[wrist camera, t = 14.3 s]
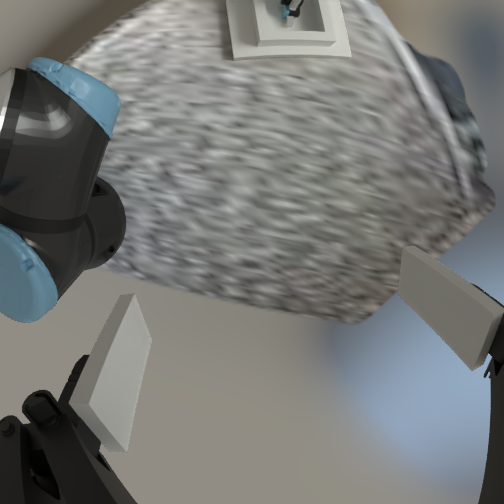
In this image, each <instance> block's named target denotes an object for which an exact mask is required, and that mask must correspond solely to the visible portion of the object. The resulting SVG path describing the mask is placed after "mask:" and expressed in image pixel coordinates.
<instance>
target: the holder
mask: <svg viewBox="0 0 504 504" xmlns="http://www.w3.org/2000/svg"><path fill="white" fill-rule="evenodd" d="M279 1H280V0H225V2H226V10H227V17H228V24H229V32H230V39H231V47H232V54H233V61H236V60H247V59H260V58H283V57H315V58H338V59H349V58H351V51H350V46H349V41H348V36H347V31H346V27H345V22H344V18H343V14H342V10H341V6H340V2H339V0H304V2H303V4H302V5H301V7H300V15H299V17H298V18H296V17H295V19H294V20H293V25H292V27H287V21H285V19H283V18H282V6H280V8H279V9H278V3H279ZM289 26H290V25H289Z"/></svg>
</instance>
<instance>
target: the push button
mask: <svg viewBox="0 0 504 504" xmlns="http://www.w3.org/2000/svg"><path fill="white" fill-rule="evenodd" d="M303 2H304V0H280V1H279V3H278V9H279V8H280V6H282V18H283V19H285V21H287V27H292V25H293V20H294V19H295V17H296V18H298V17H299V15H300V7H301V5H302V4H303ZM289 25H290V26H289Z"/></svg>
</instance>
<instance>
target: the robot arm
mask: <svg viewBox="0 0 504 504" xmlns="http://www.w3.org/2000/svg"><path fill="white" fill-rule="evenodd" d="M120 105H121V104H120V100H119V97H118V95H117V94H116V92H115V91H114V90H113V89H111V88H110V87H109V86H107V85H106V84H104V83H103V82H101V81H99V80H98V79H96V78H94V77H92V76H90V75H89V74H86V73H84V72H82V71H80V70H78V69H76V68H73V67H71V66H68V65H62V64H61V63H59V62H56V61H54V60H51V59H48V58H43V57H37V58H34V59H32V60H31V61H30V63H28V64H27V66H26V70H23V69H18V68H13V67H10V68H9V69H7V70H6V71H5V72H3V73H1V74H0V312H1V313H2V314H4V315H5V316H7V317H9V318H10V319H12V320H15V321H18V322H23V323H31V322H33V321H37V320H39V319H40V318H42V317H43V316H44V315H45V314H46V313H47V312H48V311H50V310H51V309H53V307H54V306H55V305H56V304H57V301H58V300H59V299H60V297H61V296H62V295H63V294H64V293H65V292H66V290H67V289H68V288H69V287H70V286H71V285H72V283H73V282H74V281H75V280H76V279H77V278H78V277H79V275H80V274H81V273H82V272H83V271H84V270H88V269H92V268H95V267H98V266H100V265H102V264H104V263H106V262H107V261H108V260H109V259H110V258H111V257H112V256H113V255H114V254H115V253H116V252H117V250H118V249H119V247H120V246H121V244H122V241H123V239H124V235H125V230H126V216H125V211H124V207H123V204H122V202H121V200H120V198H119V196H118V194H117V193H116V191H115V190H114V189H113V188H112V186H111V185H109V184H108V183H107V182H106V181H104V180H103V179H101V178H99V177H97V174H98V171H99V168H100V165H101V162H102V159H103V156H104V153H105V150H106V147H107V145H108V142H109V141H111V139H112V136H113V135H112V131H113V128H114V125H115V122H116V120H117V117H118V114H119V111H120ZM398 296H400V297H401V298H402V299H403V300H404V301H405V302H406V303H407V304H408V305H409V306H410V307H411V308H412V309H413V310H414V311H415V312H416V313H417V314H418V315H419V316H420V317H421V318H422V319H423V320H424V321H425V322H426V323H427V324H428V325H429V326H430V327H431V328H432V329H433V330H434V331H435V332H436V333H437V334H438V335H439V336H440V337H441V338H442V339H443V340H444V341H445V343H446V344H447V345H448V346H449V347H450V348H451V349H452V350H453V351H454V352H455V353H456V354H457V355H458V356H459V358H460V359H461V360H462V361H463V362H464V363H465V364H466V365H467V366H468V367H469V368H470V370H471V371H473V370H475V369H476V368H478V367H480V366H481V365H483V364H484V362H485V359H486V357H487V355H488V353H489V354H490V355H491V356H492V359H491V361H490V363H489V365H488V367H487V370H486V371H485V373H484V378H485V377H486V376H487V374H488V372H490V376H489V378H490V379H491V415H490V433H489V444H488V453H487V461H486V468H485V475H484V480H483V485H482V491H481V494H480V499H479V503H478V504H504V306H503V305H502V304H501V303H499V302H498V301H497V300H496V299H494V298H493V297H491V296H490V295H489V294H487V293H486V292H484V291H483V290H482V289H480V288H479V287H478V286H476V285H474V284H472V283H469V282H468V281H466V280H465V279H464V278H462V277H461V276H459V275H458V274H456V273H455V272H453V271H452V270H450V269H449V268H447V267H446V266H445V265H443V264H441V263H440V262H439V261H437V260H436V259H434V258H432V257H431V256H429V255H428V254H426V253H425V252H423V251H422V250H420V249H418V248H417V247H415V246H409V247H404V248H402V260H401V271H400V280H399V288H398ZM151 342H152V339H151V337H150V334H149V331H148V329H147V326H146V323H145V321H144V318H143V315H142V312H141V310H140V307H139V304H138V301H137V298H136V295H135V293H133V294H126V295H120V297H119V299H118V300H117V302H116V304H115V306H114V308H113V310H112V312H111V314H110V315H109V318H108V319H107V321H106V323H105V325H104V327H103V329H102V331H101V333H100V335H99V337H98V339H97V341H96V343H95V345H94V347H93V349H92V352H91V354H90V355H83V356H82V357H81V358H80V359H79V361H77V363H76V364H75V366H74V368H73V370H72V372H71V373H72V374H71V375H70V376H69V378H68V382H67V383H66V385H65V387H64V389H63V391H62V394H61V396H60V398H59V400H58V402H57V401H56V399H55V398H54V397H53V395H52V394H51V393H50V392H49V391H47V390H39V391H36V392H33V393H32V394H30V395H29V396H28V397H27V398H26V400H25V401H24V403H23V406H22V412H23V414H24V415H25V416H26V417H27V419H28V420H29V421H30V422H31V423H29V424H22V423H21V422H20V420H19V419H18V418H17V417H15V416H13V415H11V416H6V417H4V418H3V419H2V420H0V504H137V503H136V501H135V500H134V499H133V498H132V496H131V495H130V494H129V492H128V491H127V490H126V488H125V487H124V486H123V484H122V483H121V481H120V480H119V479H118V477H117V476H116V474H115V473H114V471H113V470H112V469H111V467H110V465H109V464H108V462H107V461H106V459H105V458H104V456H103V455H102V454H101V453H100V452H99V449H100V445H101V443H102V444H103V445H104V447H105V448H106V449H107V450H108V451H115V452H127V451H128V446H129V439H130V434H131V429H132V424H133V419H134V414H135V410H136V405H137V400H138V396H139V391H140V387H141V382H142V378H143V374H144V370H145V366H146V362H147V358H148V354H149V350H150V346H151Z"/></svg>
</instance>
